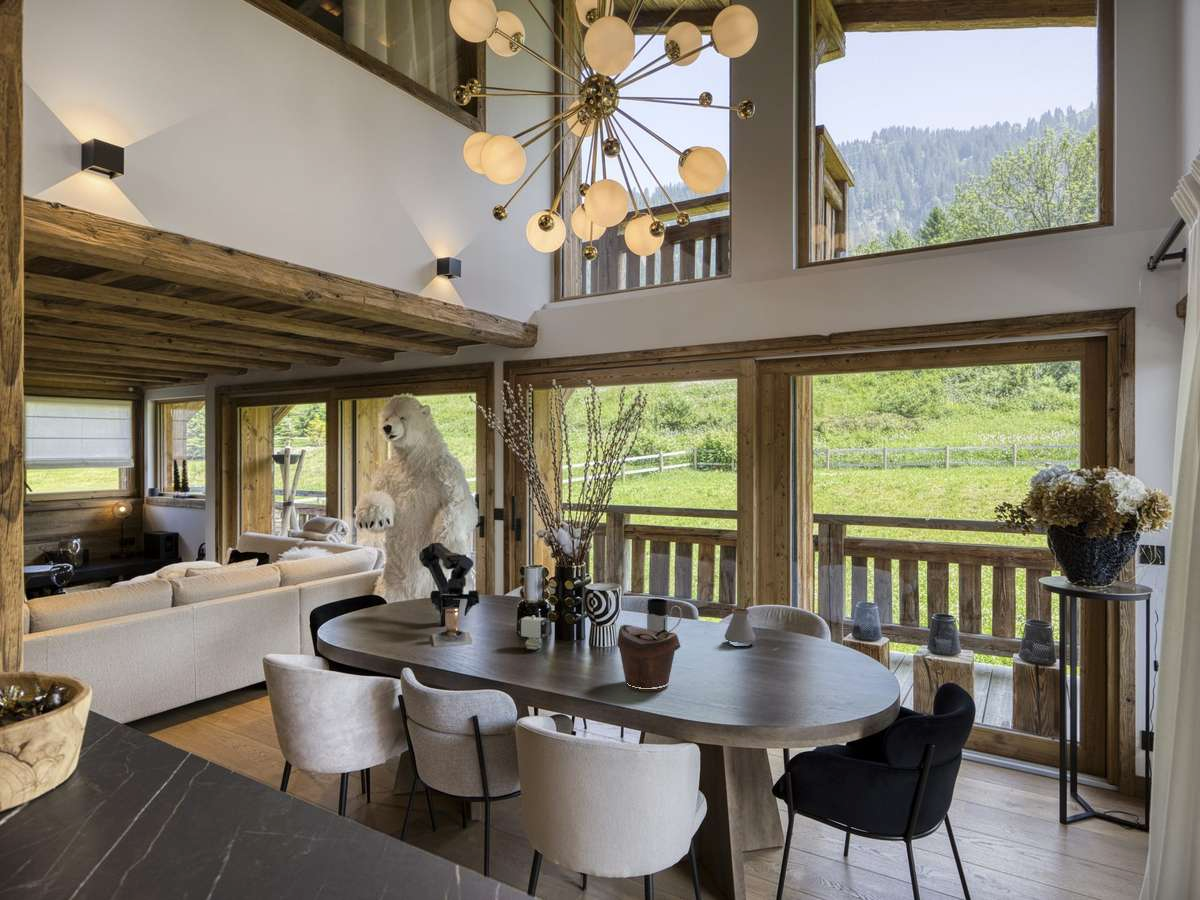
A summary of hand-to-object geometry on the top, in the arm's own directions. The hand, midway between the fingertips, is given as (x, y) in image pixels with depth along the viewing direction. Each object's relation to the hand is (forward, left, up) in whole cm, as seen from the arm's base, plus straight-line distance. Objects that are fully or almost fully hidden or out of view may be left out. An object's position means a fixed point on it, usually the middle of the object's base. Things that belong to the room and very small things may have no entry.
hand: (452, 615), depth 267 cm
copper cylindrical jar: (+4, -1, -7) cm, 8 cm away
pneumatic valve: (+23, +27, -9) cm, 37 cm away
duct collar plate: (+4, -1, -8) cm, 9 cm away
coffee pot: (+35, +106, -9) cm, 112 cm away
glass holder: (+26, +77, -9) cm, 82 cm away
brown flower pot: (+73, +53, -9) cm, 91 cm away
